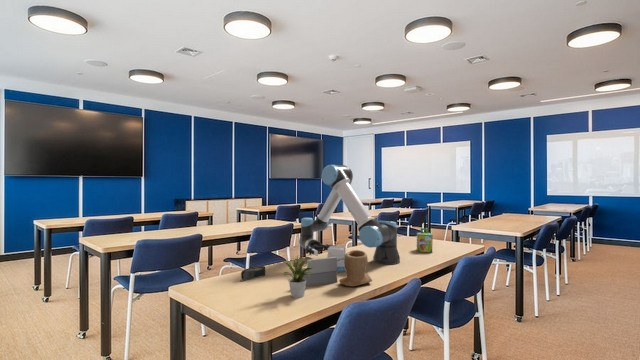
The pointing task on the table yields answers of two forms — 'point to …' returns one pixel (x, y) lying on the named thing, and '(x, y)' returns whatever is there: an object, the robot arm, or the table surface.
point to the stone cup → (355, 268)
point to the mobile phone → (252, 273)
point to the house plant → (297, 278)
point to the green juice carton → (424, 241)
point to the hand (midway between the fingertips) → (328, 252)
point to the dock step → (321, 271)
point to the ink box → (338, 256)
